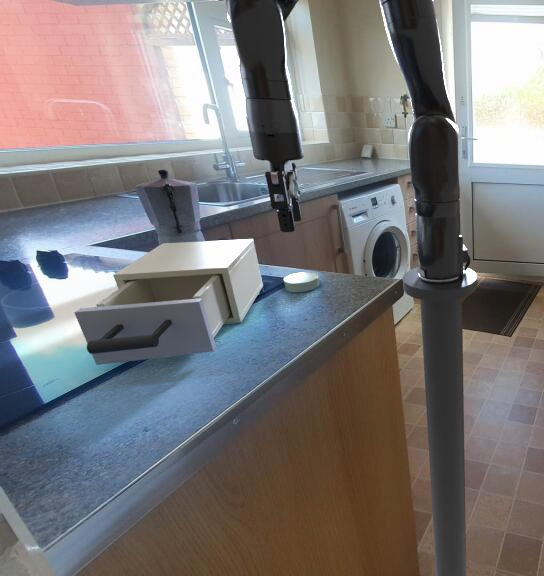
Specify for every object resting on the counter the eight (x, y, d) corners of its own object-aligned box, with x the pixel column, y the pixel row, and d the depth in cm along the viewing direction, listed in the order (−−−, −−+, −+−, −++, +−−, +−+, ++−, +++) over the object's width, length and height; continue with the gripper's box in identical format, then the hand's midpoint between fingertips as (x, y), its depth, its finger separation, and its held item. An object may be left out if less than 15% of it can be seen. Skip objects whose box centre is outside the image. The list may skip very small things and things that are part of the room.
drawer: (197, 375, 50) (181, 321, 47) (66, 392, 46) (39, 335, 43) (242, 306, 68) (232, 264, 65) (150, 315, 64) (135, 270, 61)
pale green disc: (321, 279, 82) (319, 271, 82) (318, 290, 77) (316, 281, 76) (288, 281, 81) (286, 273, 80) (282, 293, 75) (280, 284, 75)
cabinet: (241, 322, 65) (227, 267, 61) (134, 333, 60) (112, 274, 57) (263, 285, 78) (253, 239, 75) (177, 292, 74) (162, 243, 71)
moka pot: (210, 255, 93) (186, 165, 86) (227, 274, 83) (201, 173, 75) (157, 264, 87) (126, 167, 79) (167, 285, 77) (133, 176, 69)
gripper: (259, 127, 73) (276, 218, 79) (236, 130, 61) (259, 237, 67) (305, 128, 75) (318, 216, 82) (292, 131, 63) (309, 235, 69)
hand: (292, 225), depth 74 cm, fingers open, 7 cm apart
